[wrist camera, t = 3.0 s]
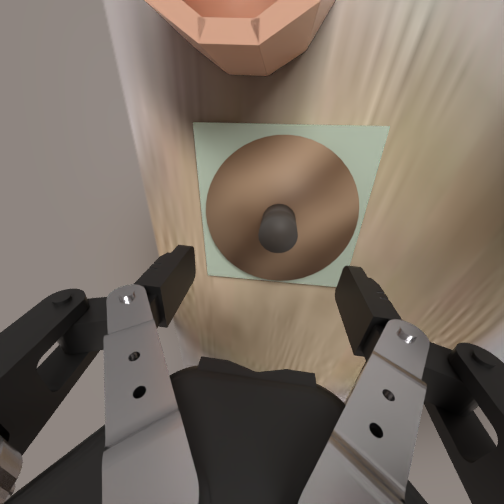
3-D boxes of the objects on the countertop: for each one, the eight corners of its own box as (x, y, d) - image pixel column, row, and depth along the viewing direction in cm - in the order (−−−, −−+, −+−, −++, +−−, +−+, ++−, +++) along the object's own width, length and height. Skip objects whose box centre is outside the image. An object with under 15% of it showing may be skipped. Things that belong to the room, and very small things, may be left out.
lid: (392, 199, 18) (420, 216, 14) (291, 296, 25) (292, 325, 21) (259, 94, 16) (251, 82, 12) (186, 231, 22) (166, 251, 19)
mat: (341, 284, 24) (343, 287, 23) (209, 272, 25) (207, 275, 25) (386, 126, 16) (390, 126, 16) (195, 122, 18) (192, 122, 17)
